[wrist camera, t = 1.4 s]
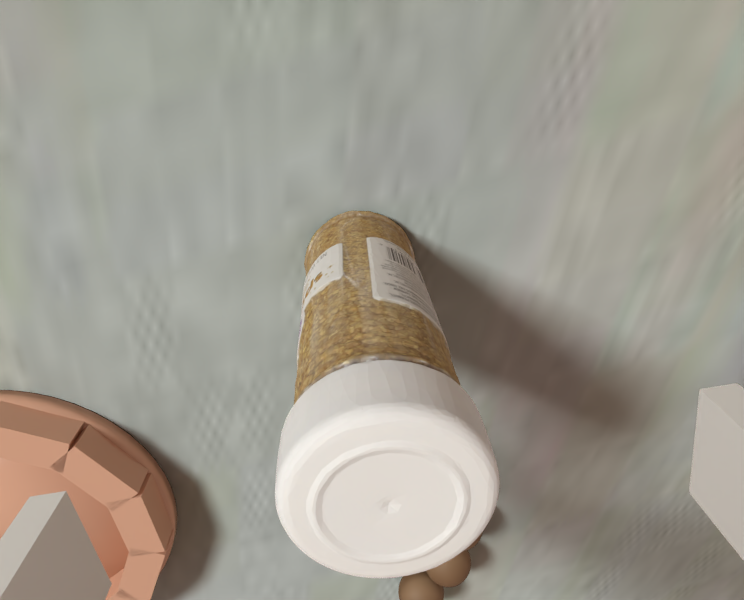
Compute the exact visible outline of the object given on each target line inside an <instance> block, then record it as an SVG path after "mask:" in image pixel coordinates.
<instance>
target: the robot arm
mask: <svg viewBox="0 0 744 600" xmlns="http://www.w3.org/2000/svg"><path fill="white" fill-rule="evenodd" d="M689 493H690V494H691V495H692V497H693V498H694V499H695V500H696V502H697V503H698V504H699V505H700V507H701V508H702V509H703V510H704V512H705V513H706V514H707V515H708V517H709V518H710V519H711V520H712V522H713V523H714V524H715V526H716V527H717V528H718V529H719V531H720V532H721V533H722V534H723V536H724V537H725V538H726V539H727V541H728V542H729V543H730V544H731V546H732V547H733V548H734V549H735V551H736V552H737V553H738V554H739V556H740V557H741V558H742V559H743V561H744V388H743V387H741V386H740V385H739V384H738V383H735V384H729V385H722V386H716V387H710V388H704V389H700V392H699V401H698V411H697V421H696V430H695V440H694V449H693V459H692V469H691V478H690V488H689ZM111 585H112V583H111V581H110V579H109V577H108V575H107V573H106V571H105V569H104V567H103V565H102V563H101V561H100V559H99V557H98V555H97V553H96V551H95V548H94V546H93V544H92V542H91V540H90V538H89V536H88V534H87V532H86V530H85V528H84V526H83V524H82V522H81V520H80V518H79V516H78V514H77V512H76V510H75V508H74V506H73V504H72V502H71V500H70V498H69V496H68V494H67V492H66V491H62V492H56V493H50V494H43V495H37V496H31V497H29V498H28V500H27V501H26V503H25V504H24V506H23V507H22V509H21V510H20V511H19V513H18V514H17V516H16V517H15V519H14V520H13V522H12V523H11V524H10V526H9V527H8V529H7V530H6V532H5V533H4V535H3V536H2V537H1V539H0V600H105V599H106V596H107V594H108V592H109V589H110V587H111Z"/></svg>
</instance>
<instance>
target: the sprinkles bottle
mask: <svg viewBox="0 0 744 600" xmlns="http://www.w3.org/2000/svg"><path fill="white" fill-rule="evenodd" d="M304 265H305V270H306V279H305V283H304V288H303V299H302V313H301V323H300V332H299V341H298V350H297V369H298V370H297V378H296V383H295V398H294V406H293V407H292V409H291V410H290V412H289V414H288V416H287V418H286V421H285V423H284V426H283V429H282V432H281V439H280V446H279V453H278V460H277V471H276V484H275V500H276V508H277V512H278V516H279V518H280V521H281V524H282V525H283V527H284V529H285V531H286V532H287V534H288V536H289V537H290V538H291V540H292V541H293V542H294V543H295V545H296V546H297V547H298V548H300V549H301V550H302V551H303V552H304V553H305V554H306V555H308V556H309V557H310V558H312V559H313V560H314V561H316V562H318V563H320V564H322V565H324V566H326V567H328V568H330V569H332V570H335V571H338V572H341V573H345V574H348V575H353V576H358V577H367V578H394V577H402V576H408V575H412V574H416V573H420V572H424V571H427V570H430V569H432V568H435V567H437V566H439V565H441V564H443V563H445V562H447V561H449V560H451V559H452V558H454V557H455V556H457V555H458V554H460V553H461V552H463V551H464V550H465V549H467V548H468V547H469V546H470V545H471V544H472V543H473V542H474V541H475V540H476V539H477V538H478V537H479V535H480V534H481V533H482V532H483V530H484V529H485V527H486V526H487V524H488V523H489V521H490V520H491V517H492V515H493V513H494V511H495V508H496V504H497V500H498V494H499V487H500V478H499V472H498V466H497V462H496V459H495V456H494V453H493V450H492V446H491V443H490V440H489V437H488V434H487V432H486V429H485V426H484V424H483V421H482V418H481V416H480V413H479V411H478V409H477V407H476V405H475V403H474V402H473V400H472V399H471V397H470V396H469V395H468V394H467V393H466V391H465V390H464V389H463V388H462V387H461V386H460V383H459V380H458V377H457V375H456V373H455V370H454V367H453V364H452V361H451V355H450V350H449V347H448V343H447V340H446V337H445V335H444V332H443V330H442V327H441V325H440V322H439V320H438V317H437V314H436V312H435V309H434V306H433V304H432V301H431V299H430V296H429V293H428V291H427V288H426V285H425V282H424V280H423V277H422V275H421V272H420V270H419V268H418V266H417V264H416V263H415V255H414V251H413V248H412V245H411V242H410V240H409V239H408V237H407V235H406V233H405V232H404V230H403V229H402V228H401V227H400V226H399V225H397V224H396V223H395V222H394V221H392V220H391V219H389V218H387V217H386V216H383V215H380V214H377V213H373V212H370V211H348V212H345V213H342V214H340V215H337V216H335V217H333V218H332V219H330V220H329V221H328V222H327V223H325V224H324V225H322V226H321V228H319V229H318V230H317V231H316V233H315V234H314V236H313V237H312V239H311V241H310V243H309V245H308V247H307V252H306V256H305V263H304Z"/></svg>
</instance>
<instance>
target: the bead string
mask: <svg viewBox="0 0 744 600" xmlns="http://www.w3.org/2000/svg"><path fill="white" fill-rule="evenodd" d="M482 533H483V532H482ZM482 533H481V534H480V535H479V537H478V538H477V539H476V540H475V541H474V542H473V543H472V544H471V545H470V546H469V547H468V548H467V549H465V550H464V551H463V552H461V553H460V554H458V555H457V556H455V557H454V558H452V559H451V560H449V561H447V562H445V563H443V564H441V565H439V566H437V567H435V568H432V569H430V570H427V571H424V572H420V573H416V574H412V575H408V576H403V577H402V579H401V581H400V584H399V599H400V600H443V598H444V589H443V587H454V586H457V585H459V584H461V583H462V582H463V581H464V580H465V579H466V578H467V576H468V574H469V571H470V567H471V559H470V554H469V552H468V550H469V549H471V548H473V547H474V546H475V545H476V544H477V543H478V542H479V540H480V538H481V536H482Z"/></svg>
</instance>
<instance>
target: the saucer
mask: <svg viewBox="0 0 744 600" xmlns="http://www.w3.org/2000/svg"><path fill="white" fill-rule="evenodd" d="M62 491H66V492H67V494H68V496H69V498H70V500H71V502H72V504H73V506H74V508H75V510H76V512H77V514H78V516H79V518H80V520H81V522H82V524H83V526H84V528H85V530H86V532H87V534H88V536H89V538H90V540H91V542H92V544H93V546H94V548H95V551H96V553H97V555H98V557H99V559H100V561H101V563H102V565H103V567H104V569H105V571H106V573H107V575H108V577H109V579H110V581H111V583H112V585H111V587H110V589H109V592H108V594H107V596H106V599H105V600H151V597H152V594H153V591H154V588H155V585H156V582H157V578H158V575H159V574H160V572H161V571H162V569H163V568H164V566H165V564H166V562H167V559H168V557H169V555H170V552H171V549H172V546H173V543H174V539H175V535H176V530H177V508H176V501H175V498H174V495H173V492H172V488H171V486H170V484H169V482H168V480H167V478H166V476H165V474H164V472H163V471H162V469H161V468H160V466H159V465H158V464H157V462H156V461H155V459H154V458H153V457H152V456H151V455H150V454H149V453H148V451H147V450H146V449H145V448H144V447H143V446H142V445H141V444H140V443H139V442H137V441H136V440H135V439H134V438H133V437H132V436H130V435H129V434H128V433H127V432H125V431H124V430H122V429H121V428H119V427H118V426H117V425H115V424H114V423H112V422H111V421H109V420H107V419H105V418H103V417H101V416H100V415H98V414H96V413H94V412H92V411H90V410H87V409H85V408H82V407H80V406H78V405H75V404H73V403H70V402H66V401H63V400H60V399H57V398H54V397H49V396H45V395H40V394H35V393H30V392H20V391H11V390H0V539H1V537H2V536H3V535H4V533H5V532H6V530H7V529H8V527H9V526H10V524H11V523H12V522H13V520H14V519H15V517H16V516H17V514H18V513H19V511H20V510H21V509H22V507H23V506H24V504H25V503H26V501H27V500H28V498H29V497H31V496H37V495H43V494H50V493H56V492H62Z"/></svg>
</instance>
